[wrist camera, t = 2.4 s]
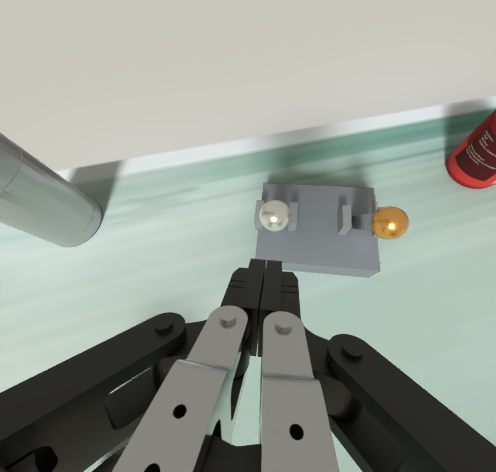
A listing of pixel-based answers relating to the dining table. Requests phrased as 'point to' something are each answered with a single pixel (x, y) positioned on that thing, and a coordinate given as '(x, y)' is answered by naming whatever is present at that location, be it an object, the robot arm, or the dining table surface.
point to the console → (320, 230)
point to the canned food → (476, 157)
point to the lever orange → (383, 222)
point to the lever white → (275, 215)
